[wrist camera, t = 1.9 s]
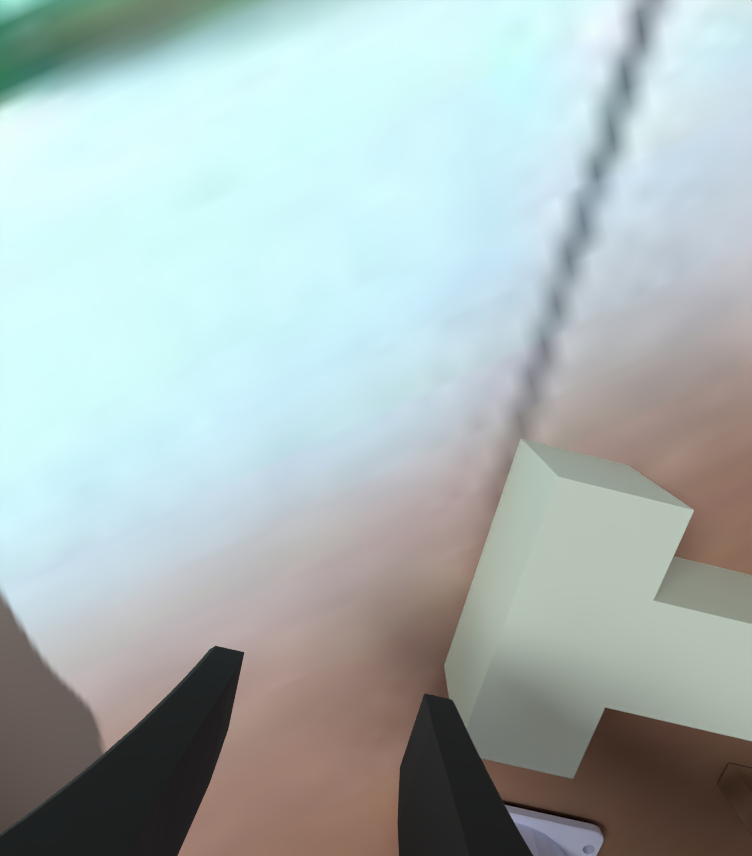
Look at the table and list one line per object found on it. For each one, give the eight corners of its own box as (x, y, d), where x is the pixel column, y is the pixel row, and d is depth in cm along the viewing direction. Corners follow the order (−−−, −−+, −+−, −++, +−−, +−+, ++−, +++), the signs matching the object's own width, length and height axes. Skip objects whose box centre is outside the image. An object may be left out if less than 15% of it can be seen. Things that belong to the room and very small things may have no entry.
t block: (720, 728, 20) (798, 829, 16) (443, 665, 20) (457, 753, 16) (833, 515, 18) (958, 575, 14) (520, 438, 17) (558, 476, 13)
